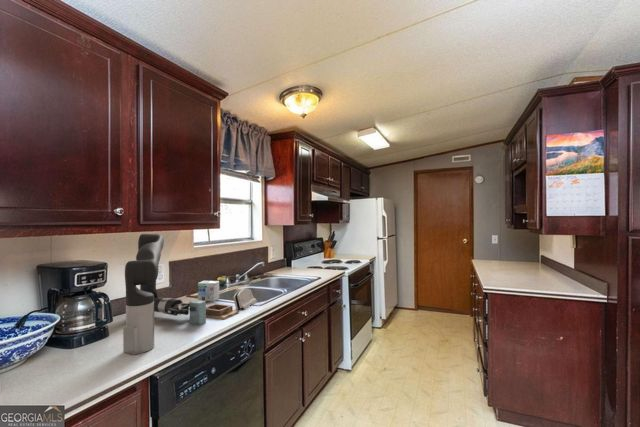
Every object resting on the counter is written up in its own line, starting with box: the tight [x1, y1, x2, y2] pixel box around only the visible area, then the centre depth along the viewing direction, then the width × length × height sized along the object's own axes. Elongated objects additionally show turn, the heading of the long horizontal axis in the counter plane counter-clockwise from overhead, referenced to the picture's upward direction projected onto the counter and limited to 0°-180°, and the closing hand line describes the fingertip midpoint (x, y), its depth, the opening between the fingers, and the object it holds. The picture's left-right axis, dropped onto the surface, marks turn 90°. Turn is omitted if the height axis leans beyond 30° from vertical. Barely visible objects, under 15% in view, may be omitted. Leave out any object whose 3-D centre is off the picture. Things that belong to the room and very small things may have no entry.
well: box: [206, 303, 240, 320], centre depth 157 cm, size 11×18×4 cm, turn 66°
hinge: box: [232, 288, 258, 311], centre depth 173 cm, size 17×5×10 cm, turn 169°
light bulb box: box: [197, 280, 220, 302], centre depth 186 cm, size 11×7×11 cm, turn 83°
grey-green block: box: [189, 299, 207, 326], centre depth 144 cm, size 4×6×10 cm, turn 66°
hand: (195, 309), depth 145 cm, fingers open, 8 cm apart
